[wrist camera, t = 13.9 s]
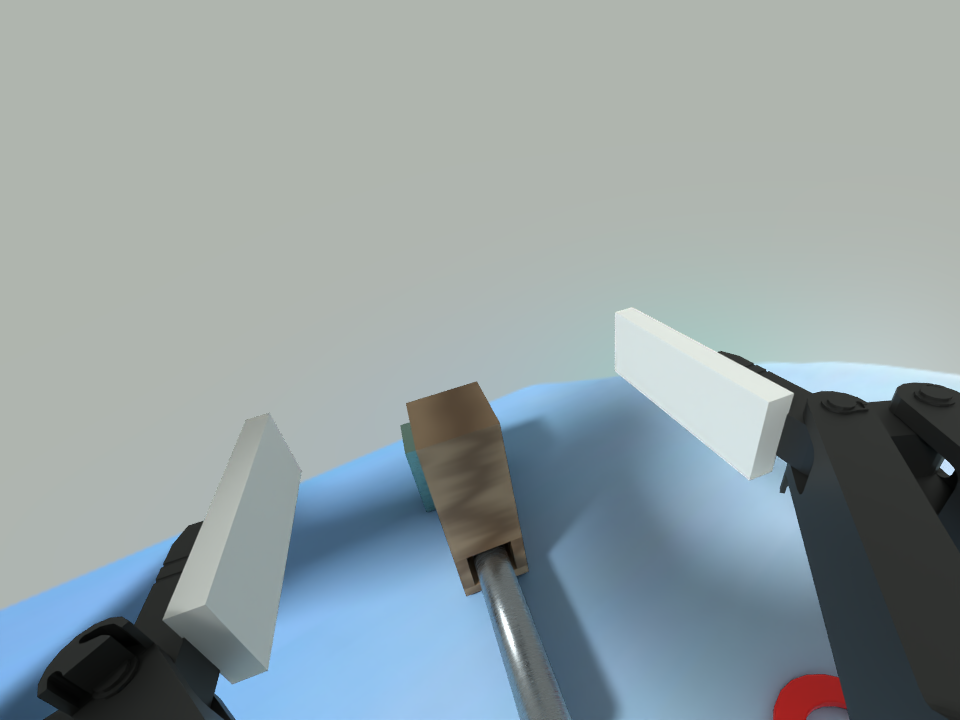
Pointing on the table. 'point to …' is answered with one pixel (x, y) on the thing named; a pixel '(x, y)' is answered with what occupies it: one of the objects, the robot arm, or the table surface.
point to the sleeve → (467, 477)
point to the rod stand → (507, 620)
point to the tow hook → (808, 696)
